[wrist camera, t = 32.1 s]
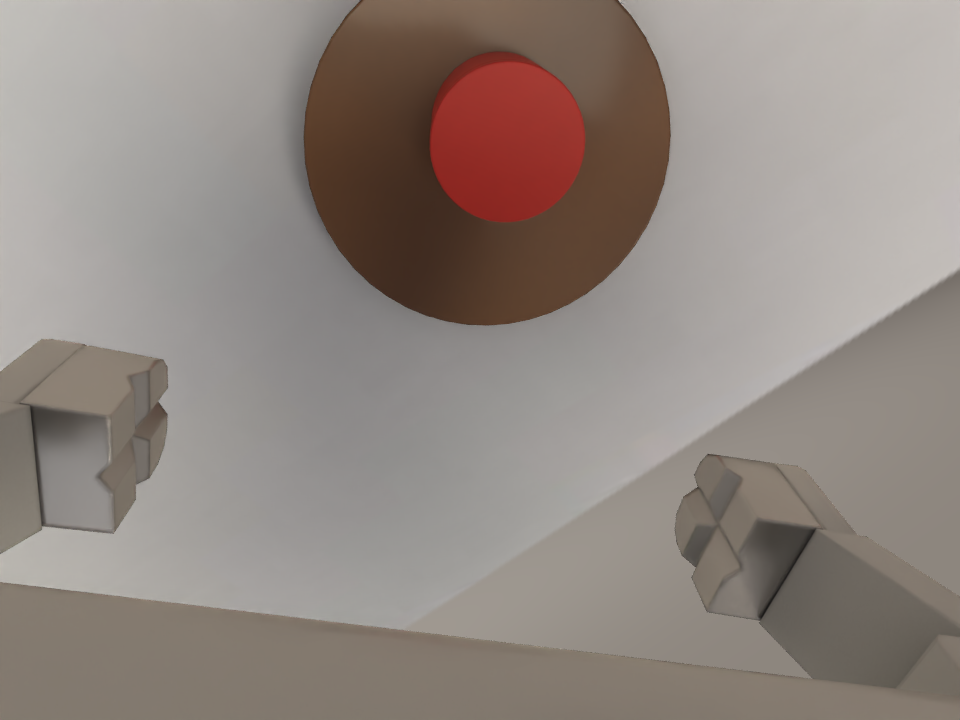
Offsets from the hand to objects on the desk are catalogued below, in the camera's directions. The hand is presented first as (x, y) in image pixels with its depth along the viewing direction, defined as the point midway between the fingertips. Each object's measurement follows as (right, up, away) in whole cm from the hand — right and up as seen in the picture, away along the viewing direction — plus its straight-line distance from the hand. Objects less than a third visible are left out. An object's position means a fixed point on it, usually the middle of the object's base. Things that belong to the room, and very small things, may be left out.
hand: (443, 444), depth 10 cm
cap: (+1, +8, +9) cm, 12 cm away
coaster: (+1, +8, +10) cm, 13 cm away
